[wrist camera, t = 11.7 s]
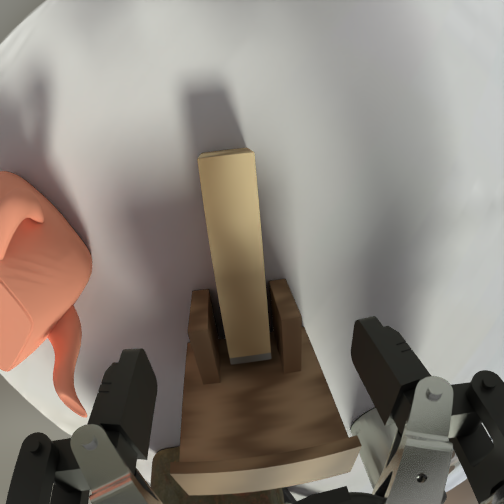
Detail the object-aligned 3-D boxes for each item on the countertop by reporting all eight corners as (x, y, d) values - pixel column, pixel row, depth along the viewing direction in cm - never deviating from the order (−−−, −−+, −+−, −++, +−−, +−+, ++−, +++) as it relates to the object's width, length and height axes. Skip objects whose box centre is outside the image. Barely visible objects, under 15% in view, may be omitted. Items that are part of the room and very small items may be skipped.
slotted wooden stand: (308, 275, 27) (378, 400, 13) (308, 356, 31) (350, 471, 18) (168, 293, 26) (139, 434, 13) (192, 372, 31) (188, 495, 17)
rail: (246, 147, 22) (254, 152, 18) (263, 324, 29) (271, 359, 24) (201, 152, 22) (197, 159, 17) (228, 329, 29) (230, 364, 24)
